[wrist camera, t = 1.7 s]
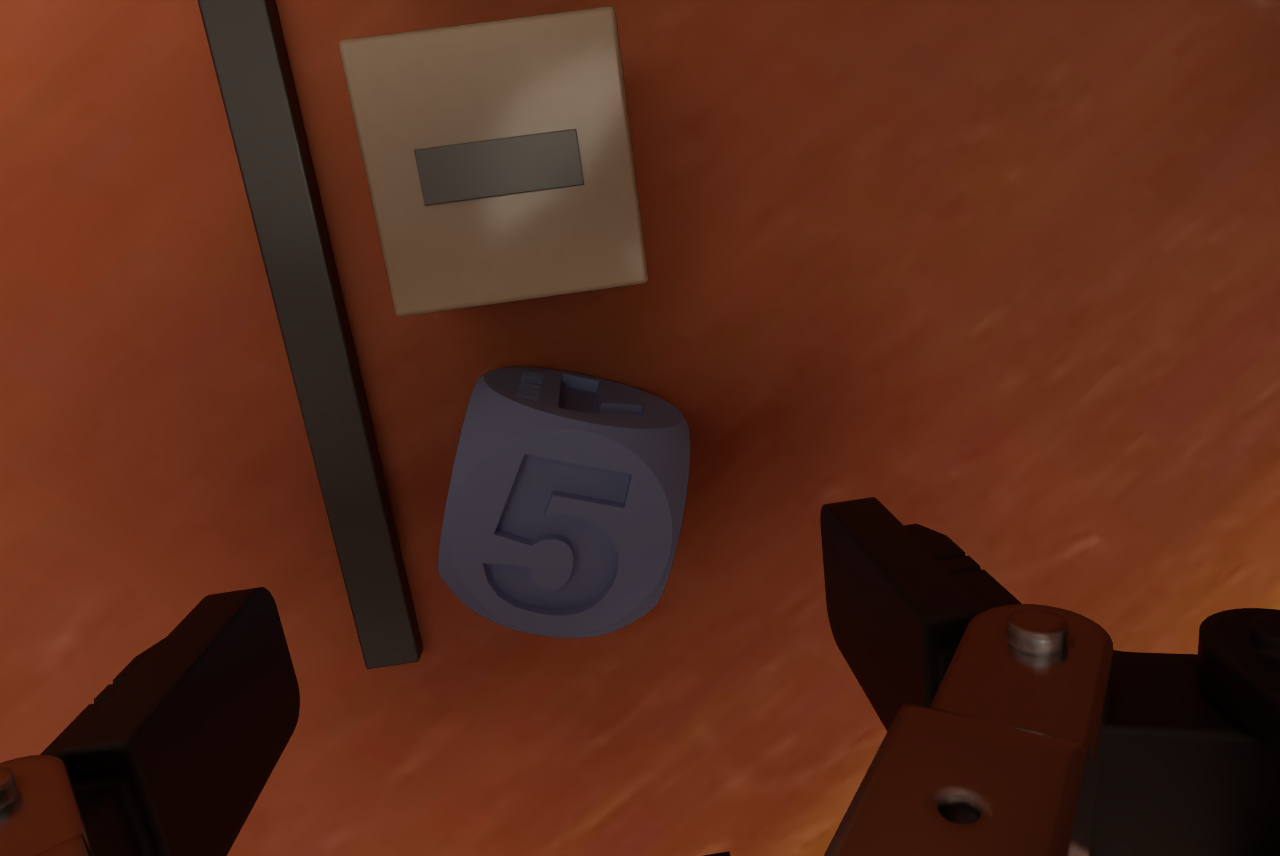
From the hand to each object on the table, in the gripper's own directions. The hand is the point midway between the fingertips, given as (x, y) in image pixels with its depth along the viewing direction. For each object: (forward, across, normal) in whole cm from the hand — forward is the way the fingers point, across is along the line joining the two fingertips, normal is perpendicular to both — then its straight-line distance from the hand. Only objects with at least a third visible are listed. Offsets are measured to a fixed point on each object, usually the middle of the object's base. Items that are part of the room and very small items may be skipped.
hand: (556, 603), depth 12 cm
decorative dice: (+6, 0, 0) cm, 6 cm away
